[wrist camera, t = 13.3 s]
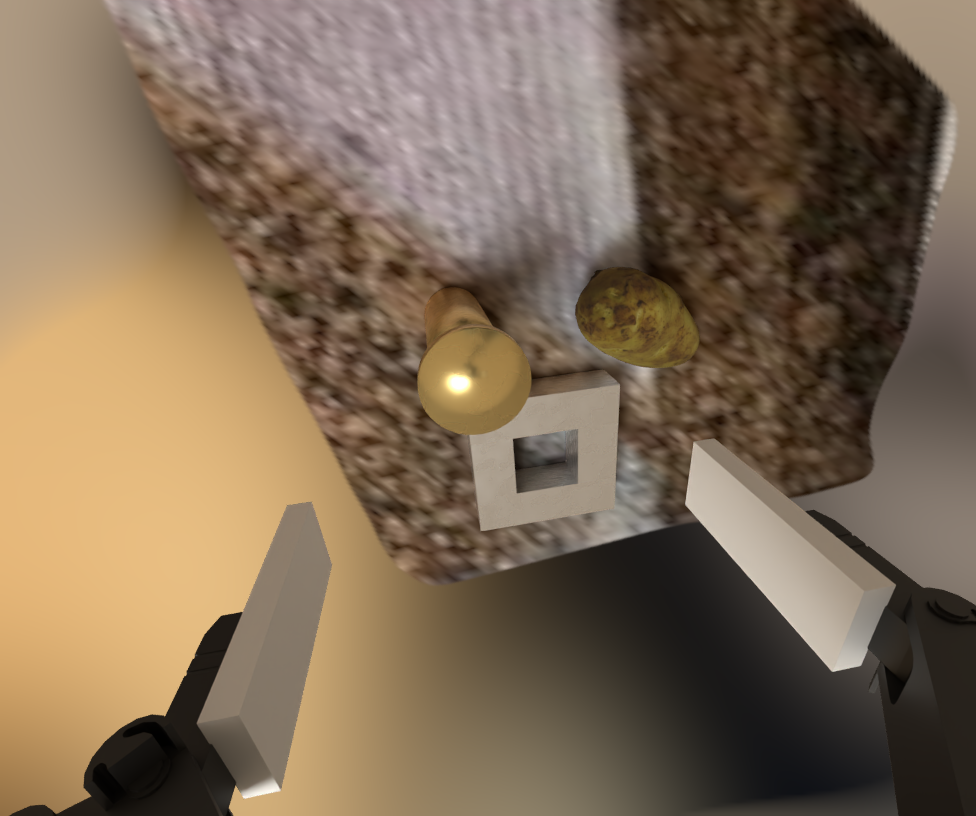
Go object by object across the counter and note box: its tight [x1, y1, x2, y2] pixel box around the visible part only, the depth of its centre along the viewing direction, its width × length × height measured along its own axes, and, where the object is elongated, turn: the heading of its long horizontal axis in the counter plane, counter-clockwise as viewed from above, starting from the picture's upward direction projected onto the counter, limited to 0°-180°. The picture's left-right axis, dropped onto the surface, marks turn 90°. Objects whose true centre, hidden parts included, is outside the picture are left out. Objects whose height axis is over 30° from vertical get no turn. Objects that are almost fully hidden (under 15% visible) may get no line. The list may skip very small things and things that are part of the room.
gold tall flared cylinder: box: [418, 287, 531, 435], centre depth 32 cm, size 6×6×16 cm
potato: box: [575, 267, 700, 368], centre depth 38 cm, size 8×13×8 cm, turn 40°
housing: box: [467, 369, 620, 531], centre depth 44 cm, size 14×14×4 cm
